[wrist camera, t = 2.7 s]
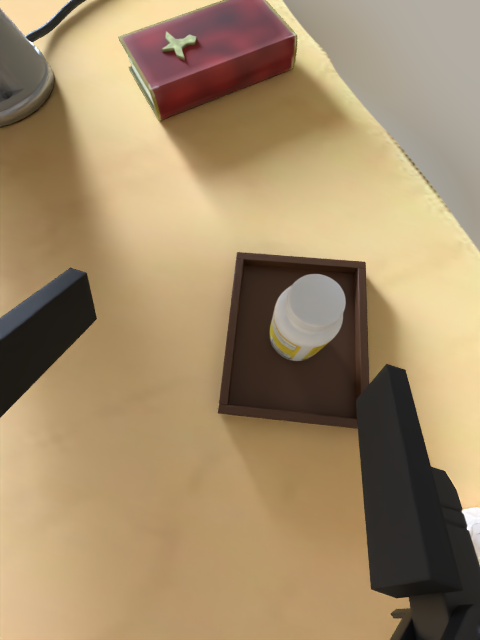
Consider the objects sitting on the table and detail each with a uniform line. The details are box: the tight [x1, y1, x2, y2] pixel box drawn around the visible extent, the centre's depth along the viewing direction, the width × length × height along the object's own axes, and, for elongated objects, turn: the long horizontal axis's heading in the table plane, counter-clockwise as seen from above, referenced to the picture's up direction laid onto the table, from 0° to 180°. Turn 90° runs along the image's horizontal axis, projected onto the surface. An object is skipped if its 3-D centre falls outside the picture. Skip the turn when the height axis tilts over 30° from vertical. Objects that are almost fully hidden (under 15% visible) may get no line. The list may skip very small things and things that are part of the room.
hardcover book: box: [118, 0, 297, 121], centre depth 39 cm, size 12×21×4 cm, turn 117°
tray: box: [218, 252, 369, 429], centre depth 28 cm, size 17×14×2 cm
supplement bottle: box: [270, 274, 346, 361], centre depth 24 cm, size 5×5×10 cm
